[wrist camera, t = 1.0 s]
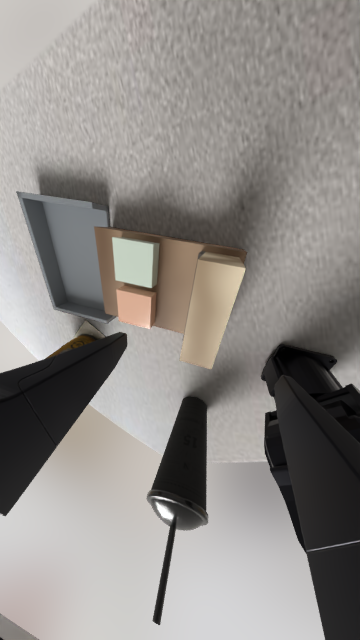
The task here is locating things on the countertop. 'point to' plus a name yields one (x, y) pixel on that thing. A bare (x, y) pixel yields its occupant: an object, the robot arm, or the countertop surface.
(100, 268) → the walnut board
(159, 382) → the countertop surface
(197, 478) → the drinking cup
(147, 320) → the tile terracotta
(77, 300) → the tray
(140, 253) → the tile sage
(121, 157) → the countertop surface
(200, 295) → the tall cream block
